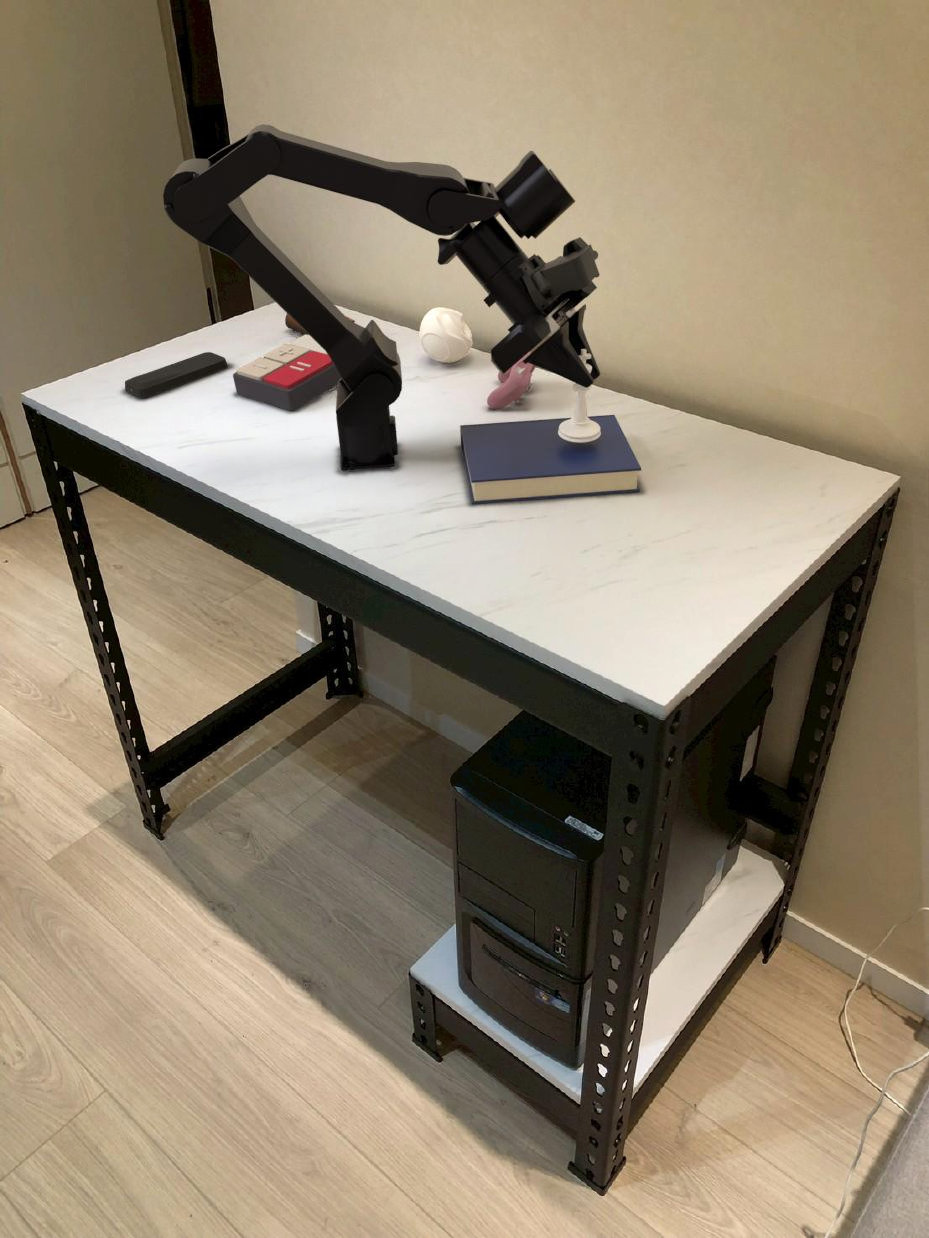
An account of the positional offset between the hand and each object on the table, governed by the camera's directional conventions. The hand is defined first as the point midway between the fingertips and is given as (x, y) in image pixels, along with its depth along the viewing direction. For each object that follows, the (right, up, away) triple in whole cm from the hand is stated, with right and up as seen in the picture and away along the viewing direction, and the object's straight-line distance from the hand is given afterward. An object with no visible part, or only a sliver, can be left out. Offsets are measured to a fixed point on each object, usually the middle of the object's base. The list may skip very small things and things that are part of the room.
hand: (593, 381), depth 109 cm
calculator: (-37, +7, +29) cm, 48 cm away
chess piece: (-1, -5, +5) cm, 7 cm away
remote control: (-56, +8, +32) cm, 65 cm away
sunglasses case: (-34, +16, +42) cm, 57 cm away
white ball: (-17, +11, +34) cm, 40 cm away
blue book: (-5, -9, +7) cm, 12 cm away
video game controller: (-8, +3, +24) cm, 25 cm away
